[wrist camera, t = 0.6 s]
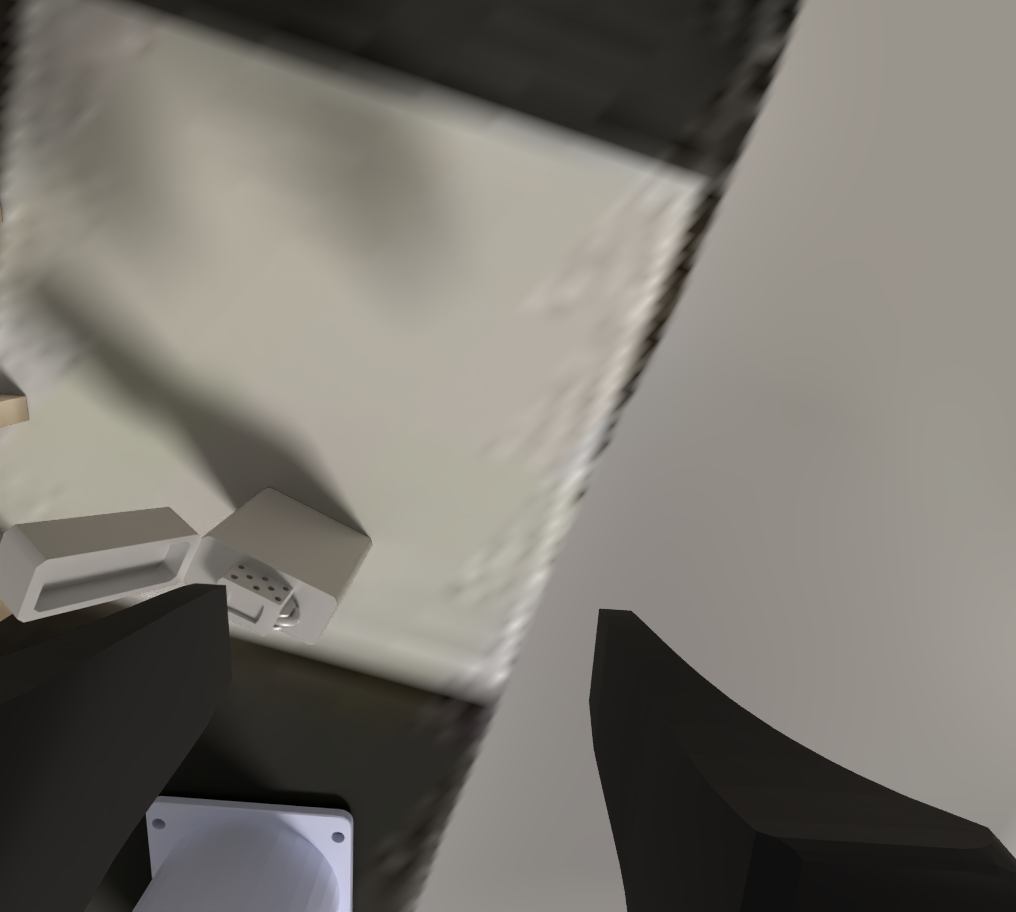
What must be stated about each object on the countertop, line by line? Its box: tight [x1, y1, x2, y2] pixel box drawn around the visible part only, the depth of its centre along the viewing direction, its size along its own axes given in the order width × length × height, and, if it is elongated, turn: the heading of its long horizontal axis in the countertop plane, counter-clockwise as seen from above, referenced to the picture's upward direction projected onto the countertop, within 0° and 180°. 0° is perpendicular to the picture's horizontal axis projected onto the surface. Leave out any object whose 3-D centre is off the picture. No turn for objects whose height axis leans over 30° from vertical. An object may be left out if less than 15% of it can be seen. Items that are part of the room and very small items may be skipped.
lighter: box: [0, 488, 373, 645], centre depth 17 cm, size 7×2×8 cm, turn 61°
